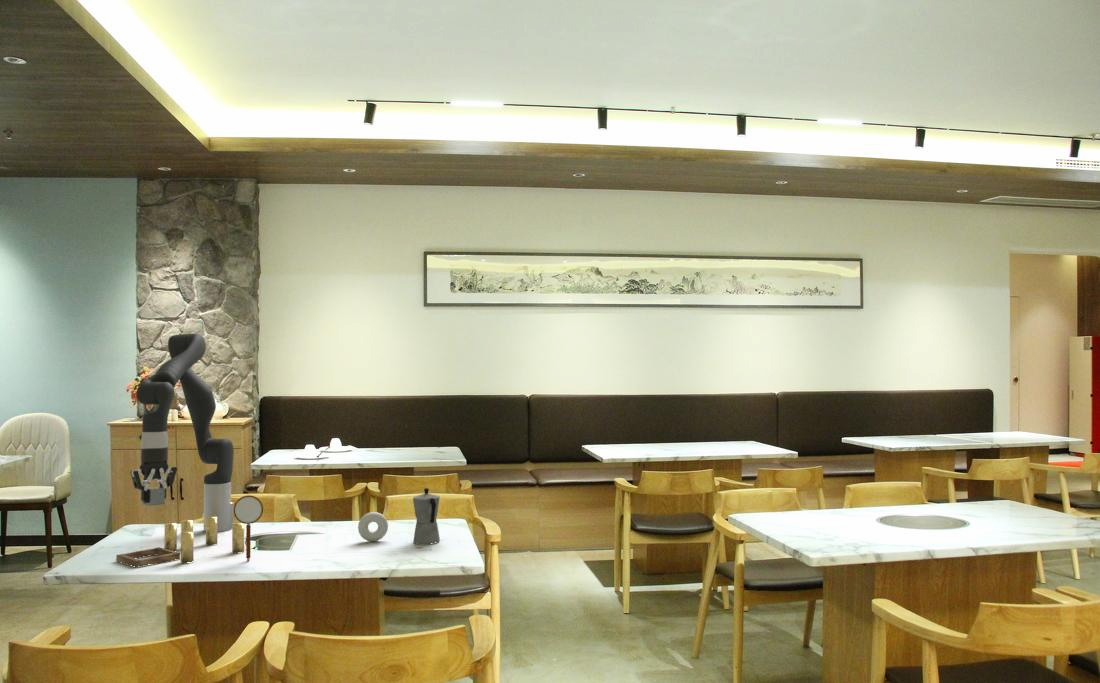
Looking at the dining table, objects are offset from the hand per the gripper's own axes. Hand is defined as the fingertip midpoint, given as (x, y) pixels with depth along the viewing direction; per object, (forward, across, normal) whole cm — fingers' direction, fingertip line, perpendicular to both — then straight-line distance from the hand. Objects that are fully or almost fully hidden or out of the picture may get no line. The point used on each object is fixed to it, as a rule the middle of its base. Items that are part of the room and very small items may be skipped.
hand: (153, 501), depth 252 cm
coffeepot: (+18, -67, +51) cm, 86 cm away
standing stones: (+18, -14, +2) cm, 23 cm away
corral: (+18, +1, -1) cm, 18 cm away
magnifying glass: (+18, -17, +25) cm, 35 cm away
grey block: (+1, 0, 0) cm, 1 cm away
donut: (+18, -58, +35) cm, 70 cm away
